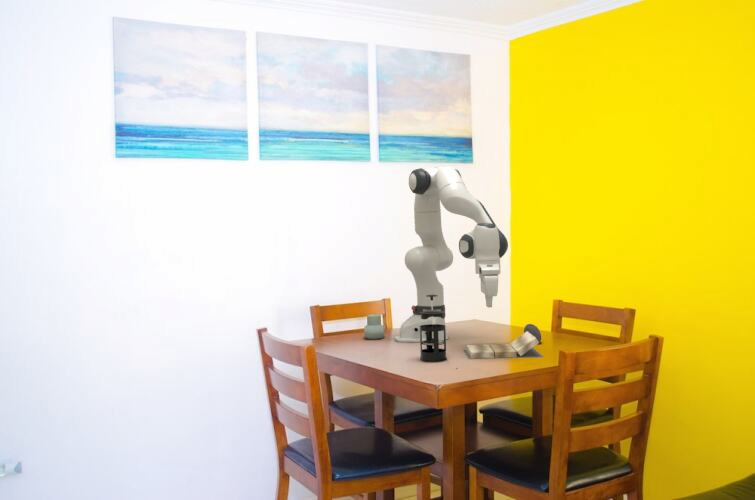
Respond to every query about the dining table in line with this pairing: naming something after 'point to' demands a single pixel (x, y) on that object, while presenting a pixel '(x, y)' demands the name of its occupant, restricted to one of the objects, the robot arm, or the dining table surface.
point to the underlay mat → (529, 354)
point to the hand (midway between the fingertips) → (489, 307)
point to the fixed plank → (503, 350)
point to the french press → (432, 331)
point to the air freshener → (374, 327)
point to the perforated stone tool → (533, 331)
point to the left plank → (480, 351)
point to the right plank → (524, 343)
